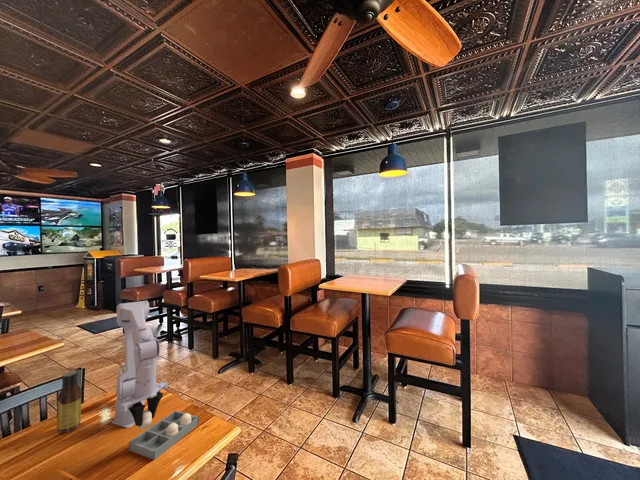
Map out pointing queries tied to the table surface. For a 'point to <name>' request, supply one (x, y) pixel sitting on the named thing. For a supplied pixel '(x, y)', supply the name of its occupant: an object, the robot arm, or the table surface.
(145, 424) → the egg
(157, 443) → the carton
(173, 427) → the egg
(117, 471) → the table surface
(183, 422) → the egg
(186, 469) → the table surface
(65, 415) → the sauce bottle
